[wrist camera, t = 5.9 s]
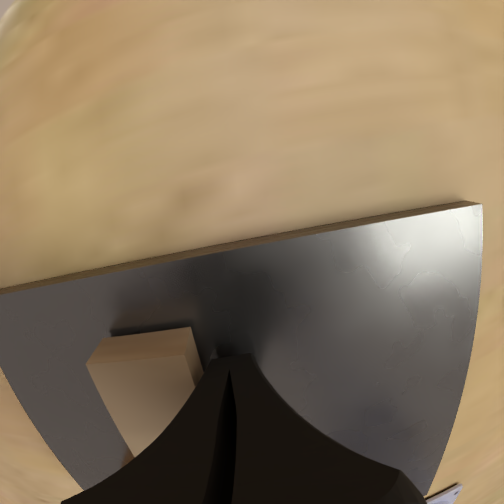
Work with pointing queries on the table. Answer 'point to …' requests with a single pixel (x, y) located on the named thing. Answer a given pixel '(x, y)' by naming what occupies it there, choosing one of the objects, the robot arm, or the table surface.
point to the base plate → (272, 332)
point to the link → (145, 381)
